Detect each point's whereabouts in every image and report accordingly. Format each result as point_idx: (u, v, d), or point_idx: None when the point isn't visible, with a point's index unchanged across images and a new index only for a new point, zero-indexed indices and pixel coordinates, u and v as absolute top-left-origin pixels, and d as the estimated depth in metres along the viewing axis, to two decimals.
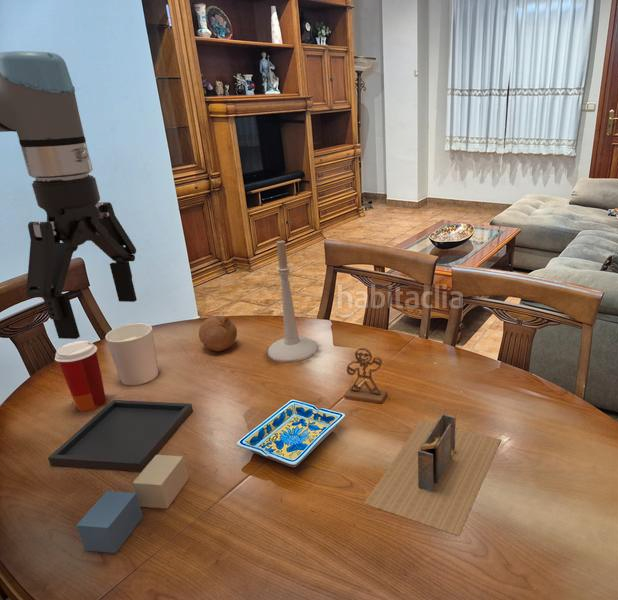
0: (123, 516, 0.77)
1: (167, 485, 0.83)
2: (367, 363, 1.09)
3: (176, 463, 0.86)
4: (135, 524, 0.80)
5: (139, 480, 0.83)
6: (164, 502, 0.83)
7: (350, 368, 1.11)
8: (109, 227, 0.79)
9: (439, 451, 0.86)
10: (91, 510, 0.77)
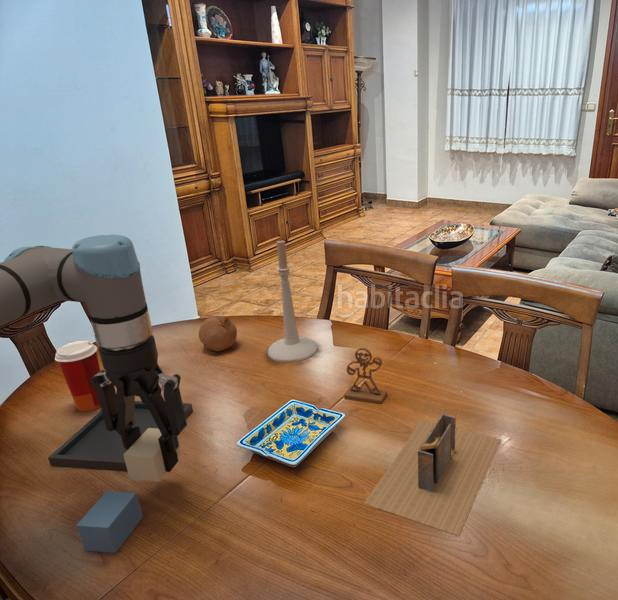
0: (123, 516, 0.77)
1: (159, 458, 0.81)
2: (367, 363, 1.09)
3: None
4: (135, 524, 0.80)
5: (130, 452, 0.81)
6: (156, 475, 0.81)
7: (350, 368, 1.11)
8: (111, 394, 0.80)
9: (439, 451, 0.86)
10: (91, 510, 0.77)
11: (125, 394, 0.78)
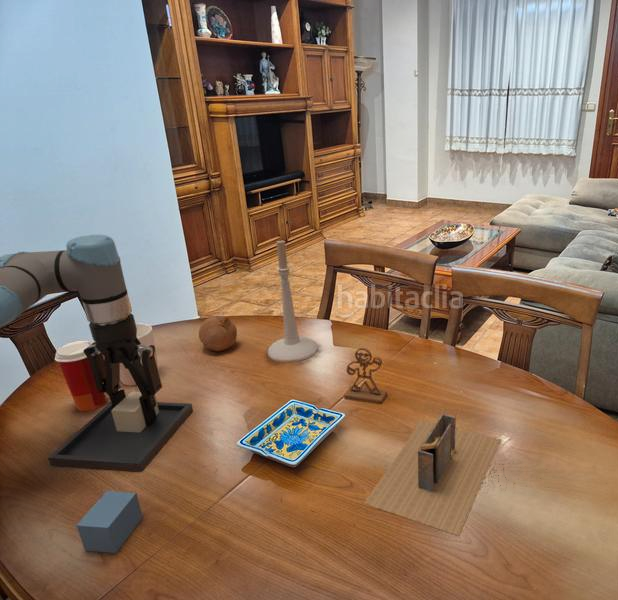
0: (123, 516, 0.77)
1: (140, 413, 1.02)
2: (367, 363, 1.09)
3: None
4: (135, 524, 0.80)
5: (116, 408, 1.01)
6: (137, 427, 1.01)
7: (350, 368, 1.11)
8: (100, 363, 1.01)
9: (439, 451, 0.86)
10: (91, 510, 0.77)
11: (111, 361, 0.98)
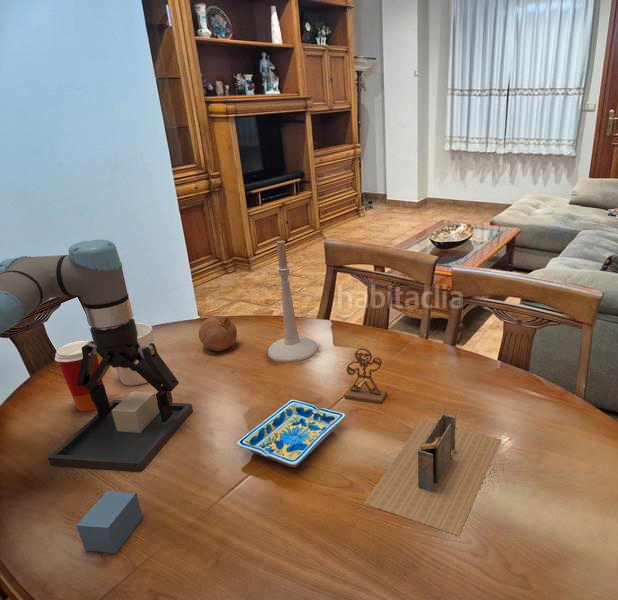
0: (123, 516, 0.77)
1: (140, 413, 1.02)
2: (367, 363, 1.09)
3: (148, 397, 1.04)
4: (135, 524, 0.80)
5: (117, 408, 1.01)
6: (137, 427, 1.01)
7: (350, 368, 1.11)
8: (91, 361, 1.01)
9: (439, 451, 0.86)
10: (91, 510, 0.77)
11: (112, 366, 0.99)
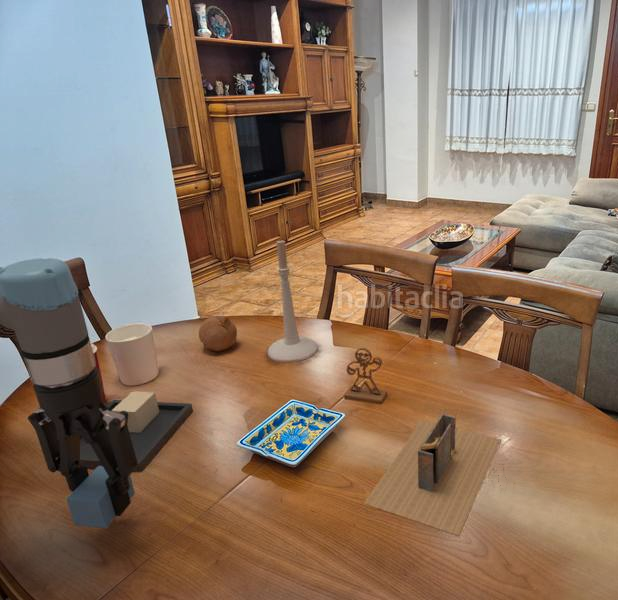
0: None
1: (140, 413, 1.02)
2: (367, 363, 1.09)
3: (148, 397, 1.04)
4: None
5: (117, 408, 1.01)
6: (137, 427, 1.01)
7: (350, 368, 1.11)
8: (52, 432, 0.73)
9: (439, 451, 0.86)
10: (81, 484, 0.75)
11: (66, 433, 0.71)
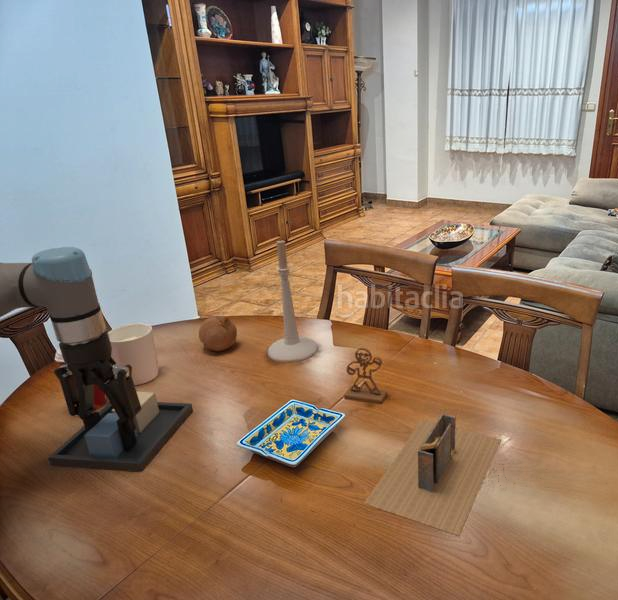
0: None
1: (140, 413, 1.02)
2: (367, 363, 1.09)
3: (148, 397, 1.04)
4: None
5: None
6: (137, 427, 1.01)
7: (350, 368, 1.11)
8: (73, 384, 0.94)
9: (439, 451, 0.86)
10: (95, 425, 0.96)
11: (84, 383, 0.91)
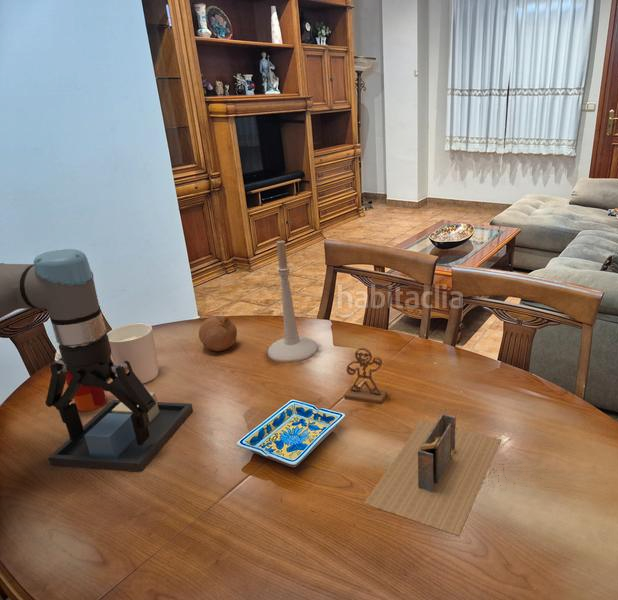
0: (121, 430, 0.96)
1: None
2: (367, 363, 1.09)
3: None
4: (131, 439, 0.99)
5: (117, 408, 1.01)
6: None
7: (350, 368, 1.11)
8: (62, 379, 0.93)
9: (439, 451, 0.86)
10: (95, 425, 0.96)
11: None
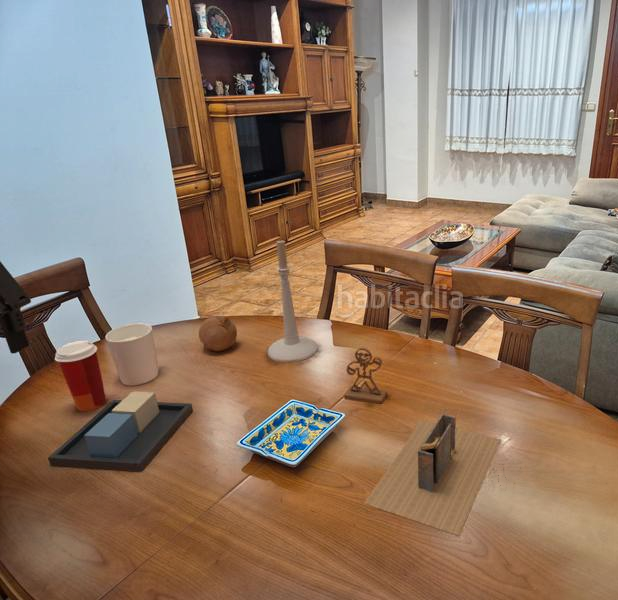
0: (121, 430, 0.96)
1: (140, 413, 1.02)
2: (367, 363, 1.09)
3: (148, 397, 1.04)
4: (131, 439, 0.99)
5: (117, 408, 1.01)
6: (137, 427, 1.01)
7: (350, 368, 1.11)
8: None
9: (439, 451, 0.86)
10: (95, 425, 0.96)
11: None
